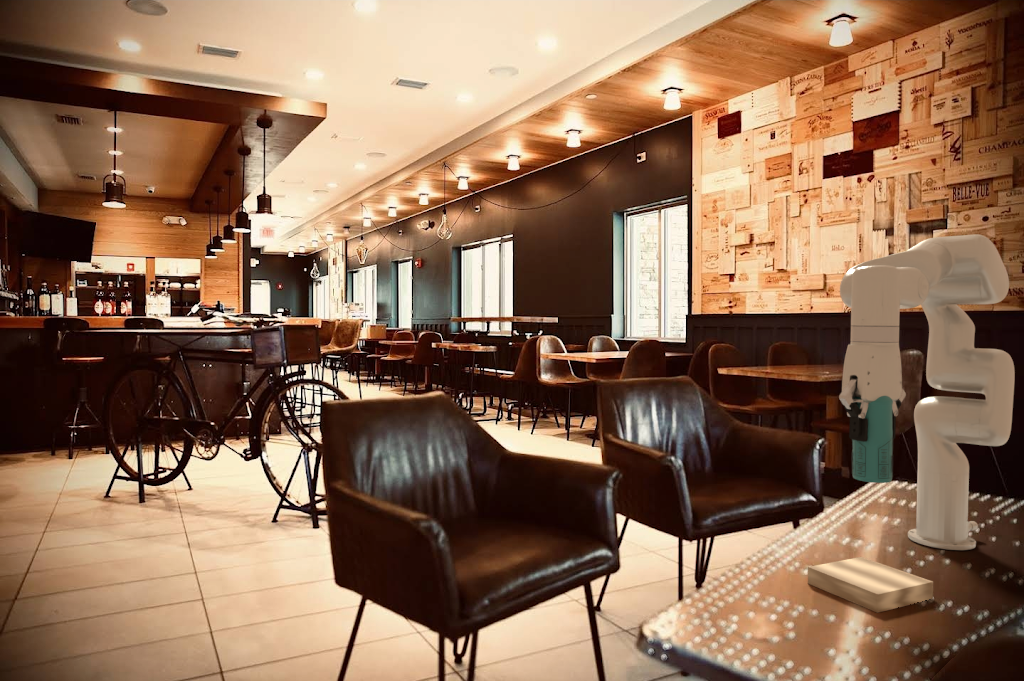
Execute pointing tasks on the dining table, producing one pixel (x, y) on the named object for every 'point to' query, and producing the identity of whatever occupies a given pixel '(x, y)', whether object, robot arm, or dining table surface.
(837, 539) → the dining table surface
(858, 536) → the dining table surface
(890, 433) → the beverage bottle
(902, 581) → the birch plinth
